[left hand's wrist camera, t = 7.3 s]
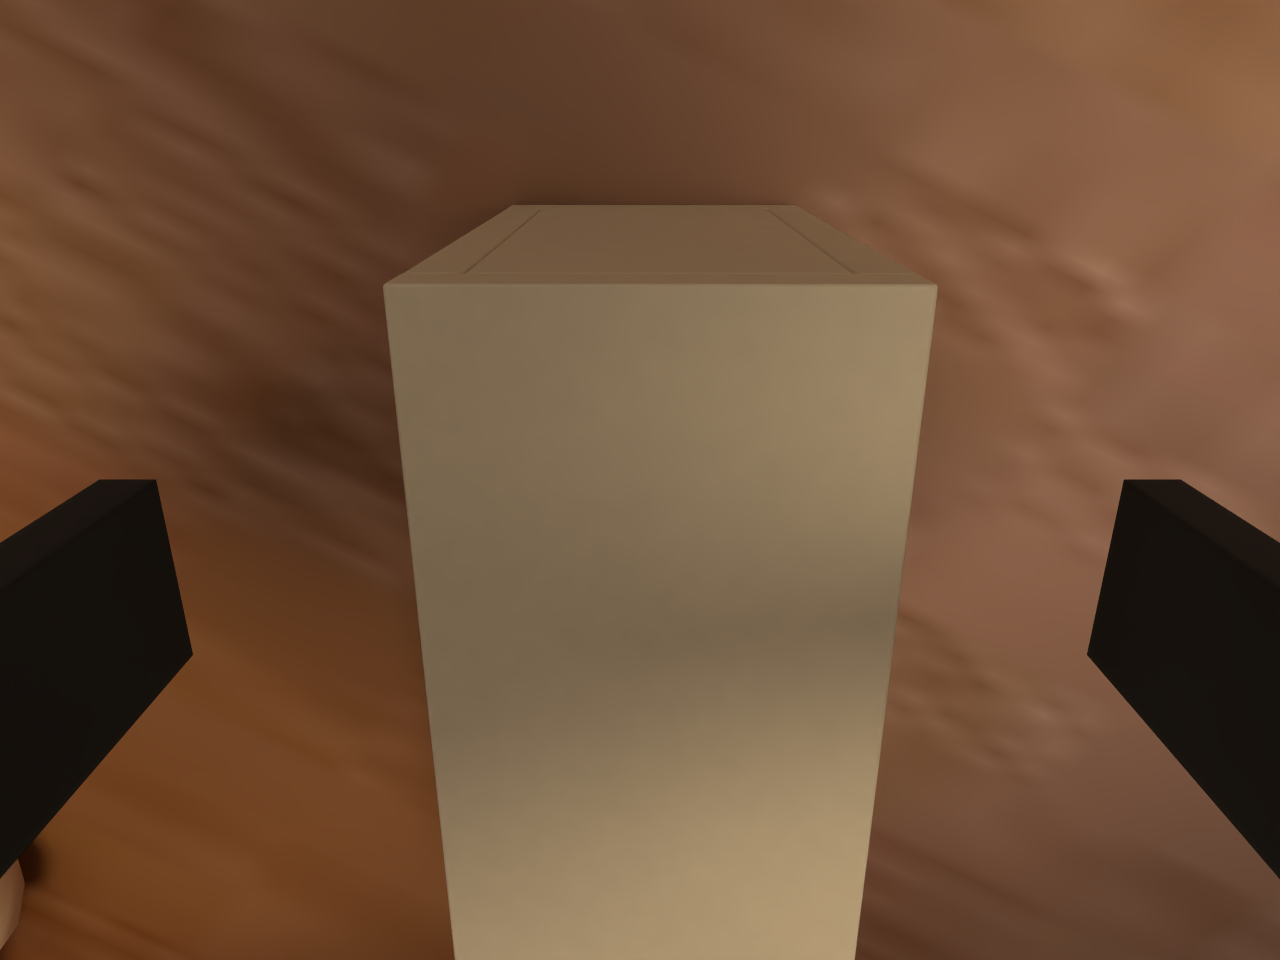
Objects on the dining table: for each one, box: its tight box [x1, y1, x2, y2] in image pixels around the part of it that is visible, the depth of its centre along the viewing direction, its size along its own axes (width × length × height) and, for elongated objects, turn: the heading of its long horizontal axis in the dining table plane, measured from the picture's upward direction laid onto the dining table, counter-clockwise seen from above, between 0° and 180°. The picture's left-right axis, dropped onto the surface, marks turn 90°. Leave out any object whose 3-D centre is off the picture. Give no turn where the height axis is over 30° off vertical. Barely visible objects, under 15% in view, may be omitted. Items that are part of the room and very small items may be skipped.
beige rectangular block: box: [383, 205, 938, 960], centre depth 19 cm, size 17×7×11 cm, turn 0°
